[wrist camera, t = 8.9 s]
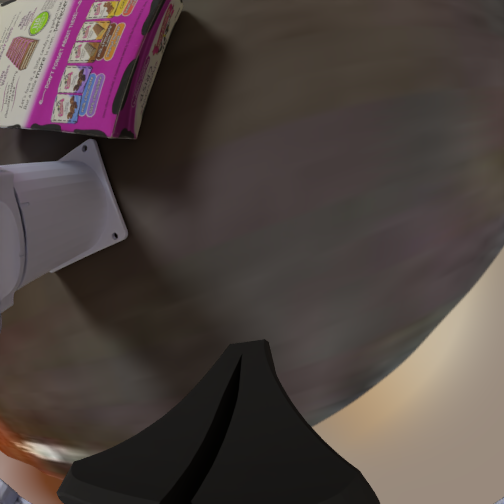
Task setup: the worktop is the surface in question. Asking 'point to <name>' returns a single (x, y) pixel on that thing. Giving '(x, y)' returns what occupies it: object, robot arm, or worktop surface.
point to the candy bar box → (81, 63)
